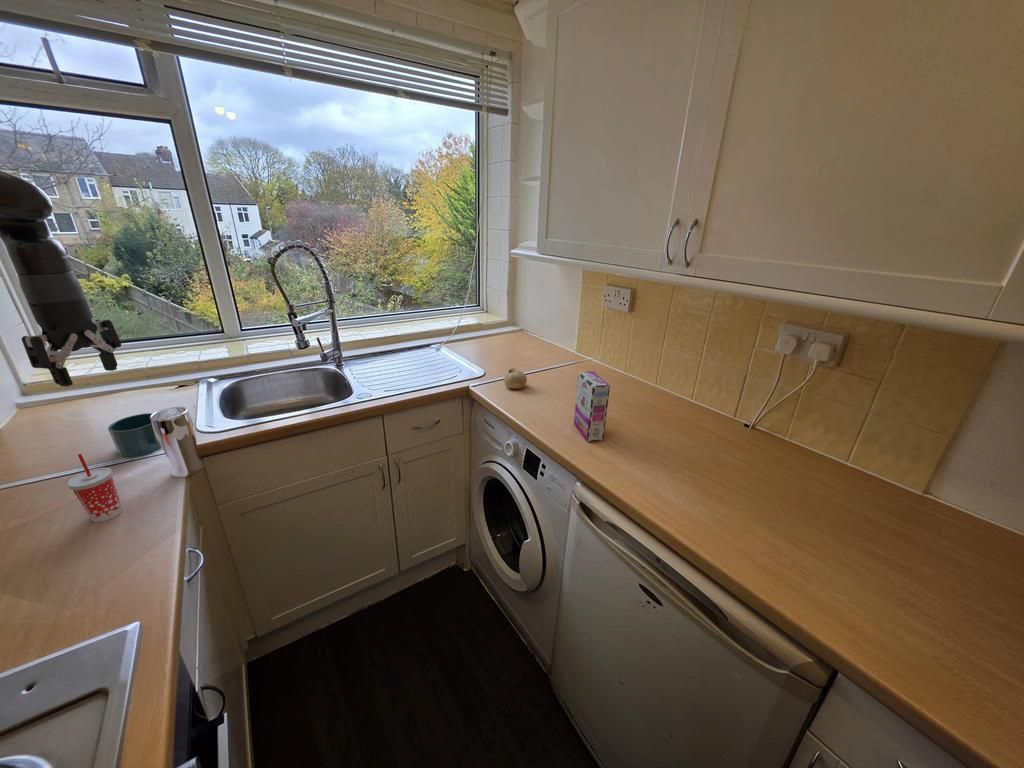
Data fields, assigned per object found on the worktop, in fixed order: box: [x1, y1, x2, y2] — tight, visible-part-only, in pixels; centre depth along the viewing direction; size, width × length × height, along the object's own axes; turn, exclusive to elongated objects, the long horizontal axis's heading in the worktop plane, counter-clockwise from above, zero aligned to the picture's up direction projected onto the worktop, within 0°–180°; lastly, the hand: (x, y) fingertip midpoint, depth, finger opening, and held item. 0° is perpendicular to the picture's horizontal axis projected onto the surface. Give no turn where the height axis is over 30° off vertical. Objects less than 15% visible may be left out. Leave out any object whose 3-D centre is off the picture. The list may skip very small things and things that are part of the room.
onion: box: [503, 367, 528, 390], centre depth 142 cm, size 8×8×7 cm
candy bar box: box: [573, 371, 611, 443], centre depth 111 cm, size 11×5×16 cm, turn 12°
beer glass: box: [150, 406, 205, 478], centre depth 92 cm, size 7×7×15 cm
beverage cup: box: [67, 453, 124, 523], centre depth 78 cm, size 6×6×14 cm
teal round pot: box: [107, 412, 162, 458], centre depth 101 cm, size 10×10×8 cm
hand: (89, 377), depth 82 cm, fingers open, 8 cm apart
